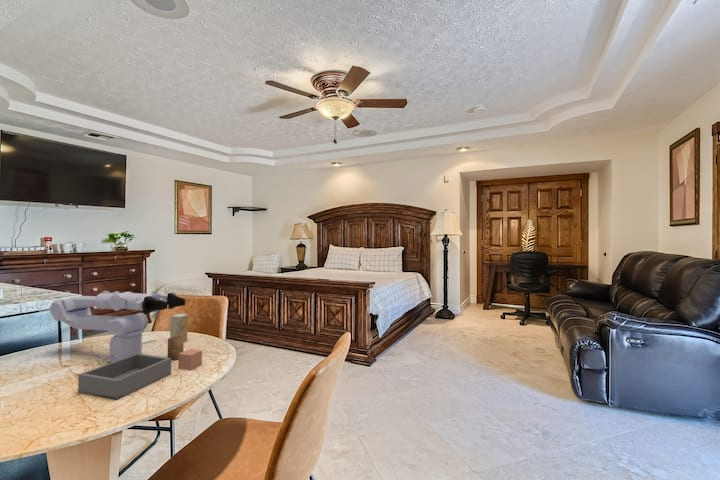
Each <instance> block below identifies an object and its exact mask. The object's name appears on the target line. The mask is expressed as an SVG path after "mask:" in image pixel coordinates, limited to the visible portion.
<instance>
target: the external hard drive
mask: <svg viewBox="0 0 720 480" xmlns="http://www.w3.org/2000/svg"><path fill="white" fill-rule="evenodd" d="M154 342H155V343H156V342H157V338H155V337H153V336H149V335H142V346H143V345H147V344H151V343H154Z"/></svg>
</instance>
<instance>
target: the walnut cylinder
mask: <svg viewBox="0 0 720 480" xmlns="http://www.w3.org/2000/svg"><path fill="white" fill-rule="evenodd" d="M184 344H185V342H184V337H181V336H177V337H171V338H170V337H168V339H167V358H171V361H178V358H179V353H182V352H184Z"/></svg>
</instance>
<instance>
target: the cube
mask: <svg viewBox="0 0 720 480" xmlns="http://www.w3.org/2000/svg"><path fill="white" fill-rule="evenodd" d="M177 361H178V364H177V365H178V368H179V369H180V370H185V369H186V371H192V370H194V369H197V368H199V367H201V366H202V365H203V350H200V349H192V348H189V349H186V350H183V352H182V353H179V358H178V360H177ZM200 365H201V366H200ZM198 366H199V367H198ZM196 367H197V368H196ZM178 368H177V369H178Z"/></svg>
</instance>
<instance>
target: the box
mask: <svg viewBox="0 0 720 480" xmlns="http://www.w3.org/2000/svg"><path fill="white" fill-rule="evenodd" d="M188 318H189V314H187V313H178V314H174V315H170V329H169V331H170V332H169V334H170V336H169V338H171V337H177V336H181V337H184V343H185V342H187V341H188V321H189V320H188Z"/></svg>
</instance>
